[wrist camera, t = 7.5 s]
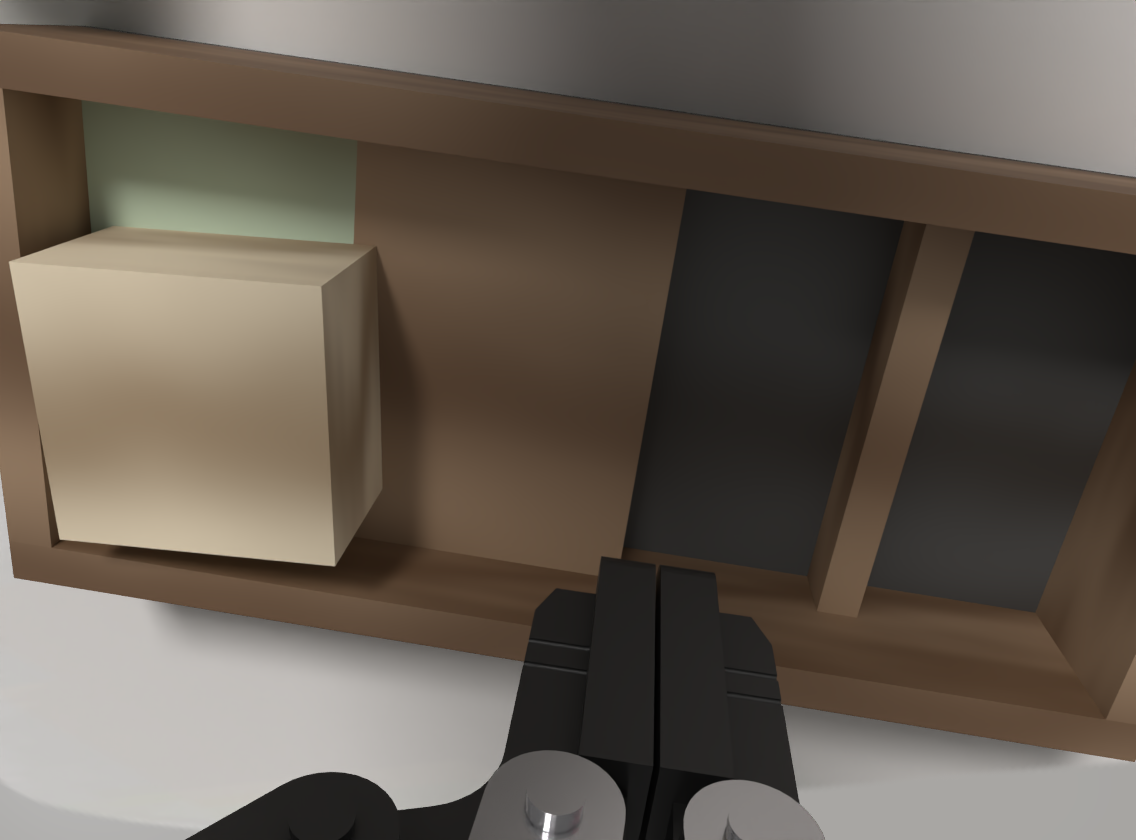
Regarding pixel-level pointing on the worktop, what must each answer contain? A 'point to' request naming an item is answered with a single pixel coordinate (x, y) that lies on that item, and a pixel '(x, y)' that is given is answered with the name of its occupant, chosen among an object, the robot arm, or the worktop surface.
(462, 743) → the worktop surface
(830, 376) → the divided wooden tray
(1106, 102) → the worktop surface
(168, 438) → the block
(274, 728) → the worktop surface
